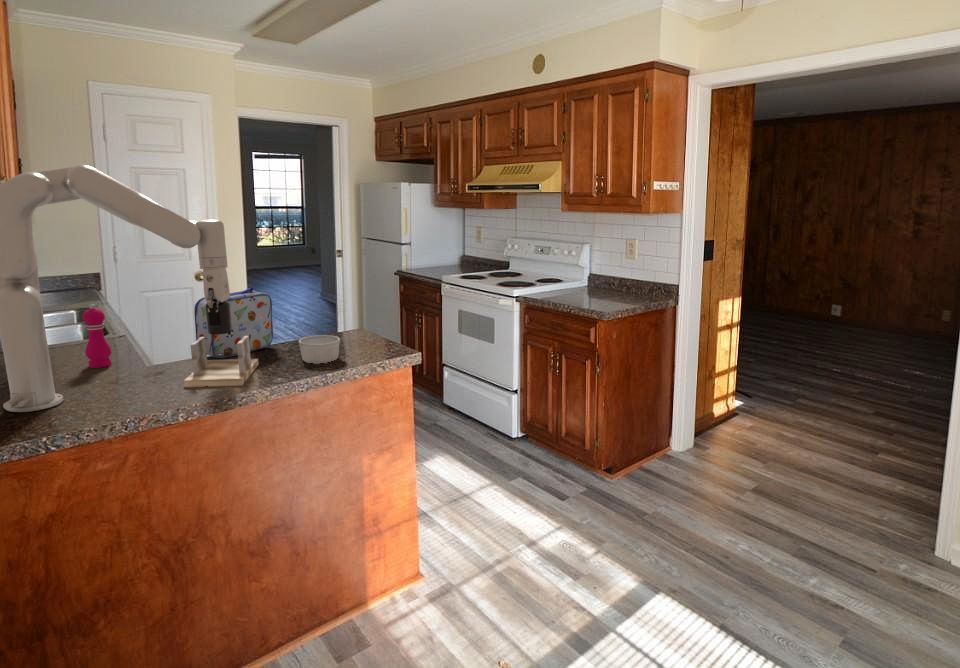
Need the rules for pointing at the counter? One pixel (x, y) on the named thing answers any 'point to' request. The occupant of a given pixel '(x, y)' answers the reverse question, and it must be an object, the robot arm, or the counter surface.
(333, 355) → the ramekin
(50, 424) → the counter surface
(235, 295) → the lunch box
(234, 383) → the wooden stand
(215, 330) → the supplement bottle
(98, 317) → the pepper mill
